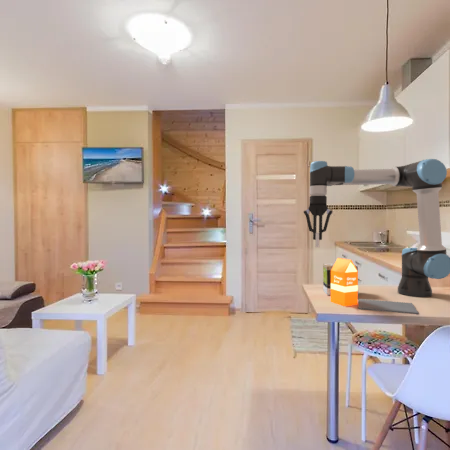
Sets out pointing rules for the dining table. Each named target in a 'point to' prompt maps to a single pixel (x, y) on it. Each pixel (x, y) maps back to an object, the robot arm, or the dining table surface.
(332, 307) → the dining table surface
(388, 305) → the mat
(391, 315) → the dining table surface
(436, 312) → the dining table surface
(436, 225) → the robot arm
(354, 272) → the orange juice
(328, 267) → the tea box
